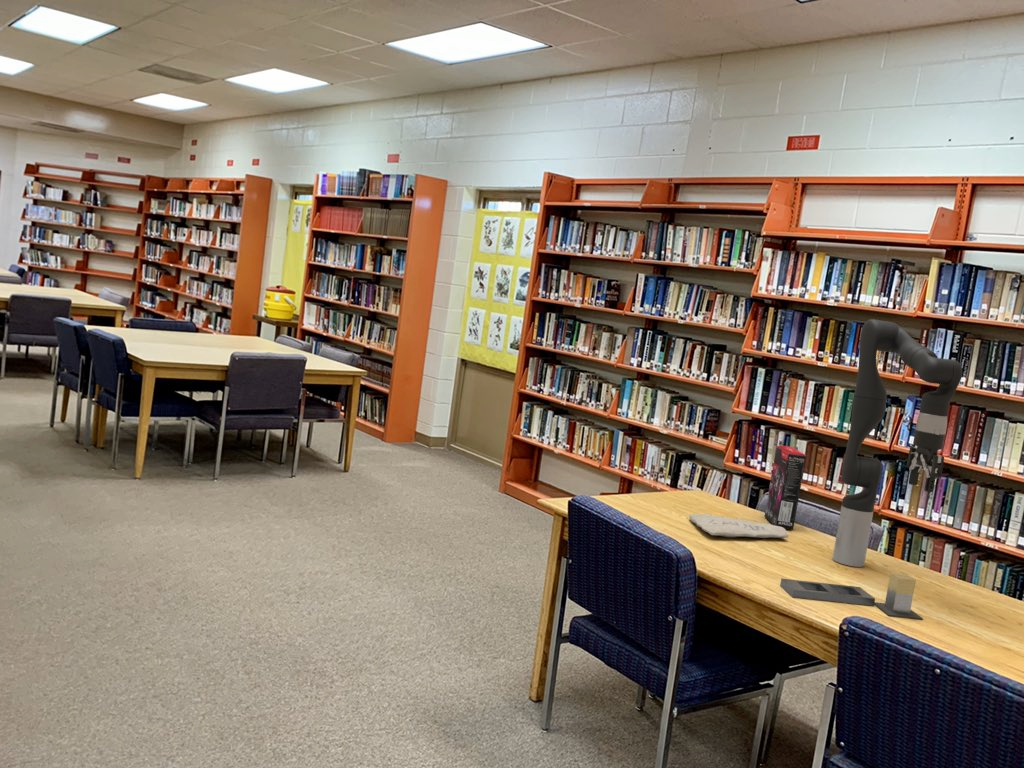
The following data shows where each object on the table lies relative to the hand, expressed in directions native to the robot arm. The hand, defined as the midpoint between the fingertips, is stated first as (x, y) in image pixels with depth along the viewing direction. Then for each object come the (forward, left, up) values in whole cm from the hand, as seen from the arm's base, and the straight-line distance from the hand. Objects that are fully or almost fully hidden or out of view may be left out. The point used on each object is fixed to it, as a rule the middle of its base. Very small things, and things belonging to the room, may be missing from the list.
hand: (920, 488), depth 238 cm
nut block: (+17, -10, -30) cm, 36 cm away
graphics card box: (-68, -11, -30) cm, 75 cm away
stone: (-47, -32, -31) cm, 65 cm away
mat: (+17, -10, -30) cm, 36 cm away
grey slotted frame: (+10, -26, -30) cm, 41 cm away
